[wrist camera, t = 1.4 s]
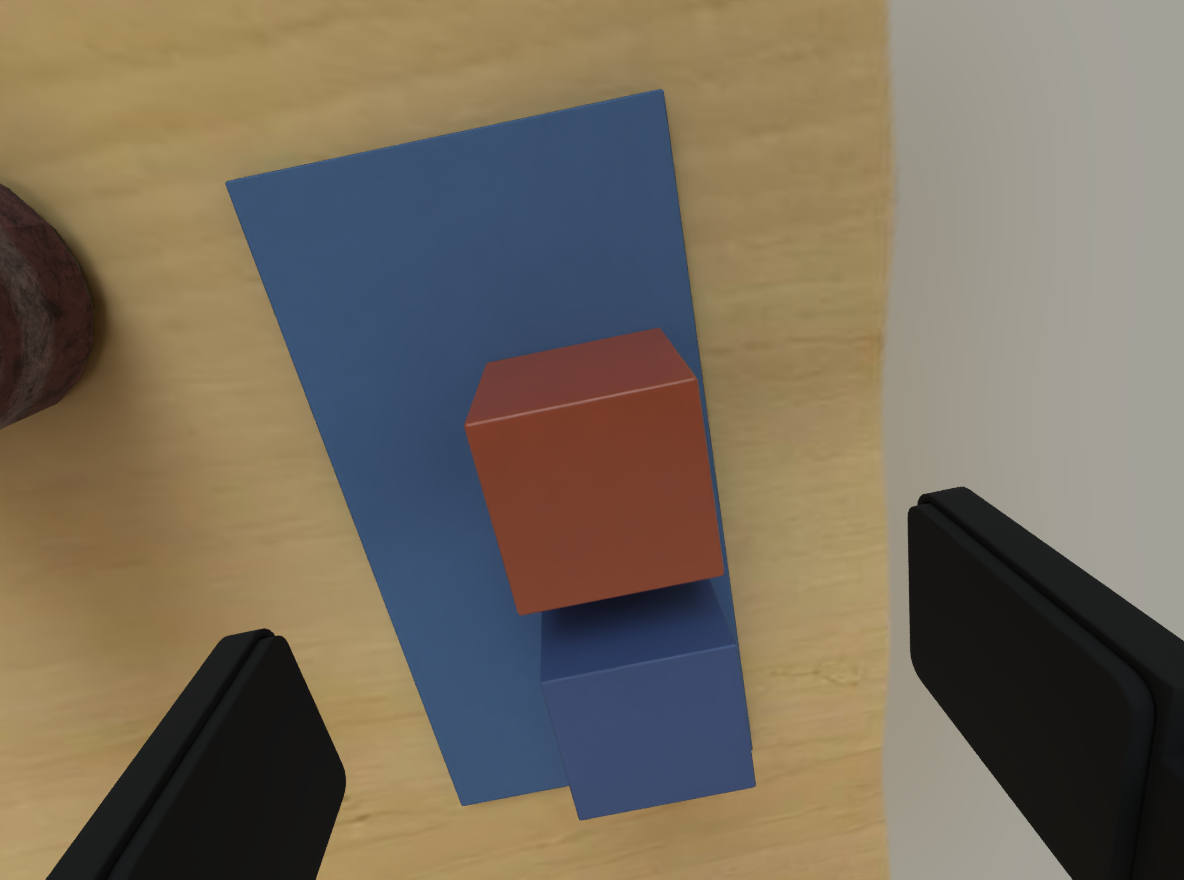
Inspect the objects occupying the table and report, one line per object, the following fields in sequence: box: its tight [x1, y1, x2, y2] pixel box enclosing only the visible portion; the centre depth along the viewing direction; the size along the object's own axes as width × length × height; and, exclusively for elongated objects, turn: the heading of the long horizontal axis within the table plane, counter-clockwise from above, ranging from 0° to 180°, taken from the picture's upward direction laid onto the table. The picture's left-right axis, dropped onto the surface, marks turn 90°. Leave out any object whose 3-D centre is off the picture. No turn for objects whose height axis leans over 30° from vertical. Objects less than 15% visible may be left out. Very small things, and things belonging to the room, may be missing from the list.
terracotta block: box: [464, 328, 724, 616], centre depth 15 cm, size 4×4×4 cm
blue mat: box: [225, 89, 753, 806], centre depth 18 cm, size 20×10×1 cm, turn 11°
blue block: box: [540, 579, 756, 820], centre depth 17 cm, size 4×4×4 cm
